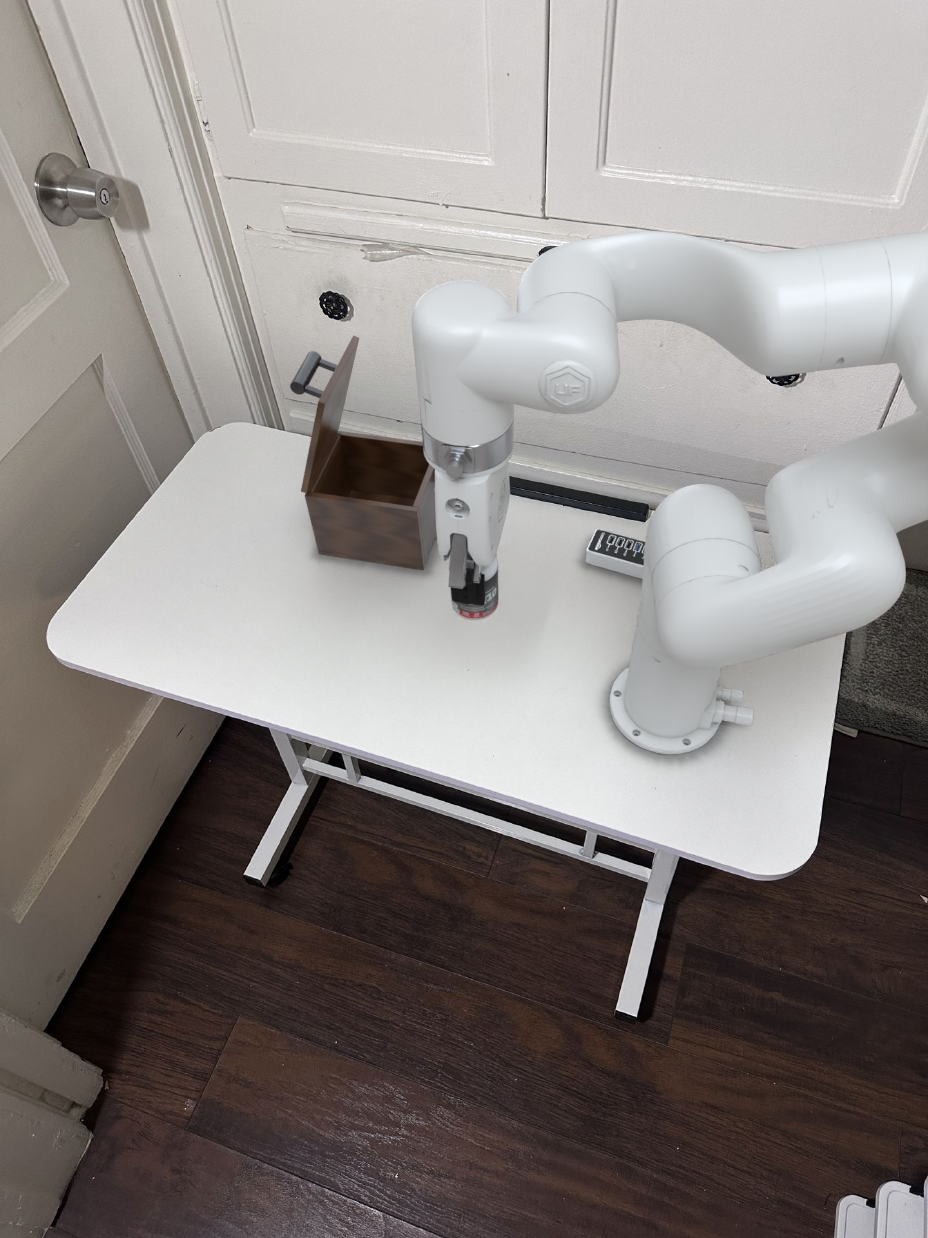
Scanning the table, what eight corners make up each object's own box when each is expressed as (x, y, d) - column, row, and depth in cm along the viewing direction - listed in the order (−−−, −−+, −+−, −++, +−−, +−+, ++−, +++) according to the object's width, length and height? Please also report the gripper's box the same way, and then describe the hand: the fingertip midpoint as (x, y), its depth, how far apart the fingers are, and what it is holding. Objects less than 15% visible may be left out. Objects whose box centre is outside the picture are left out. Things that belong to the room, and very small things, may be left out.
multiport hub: (693, 593, 116) (696, 581, 114) (584, 562, 120) (585, 550, 118) (702, 569, 118) (705, 557, 116) (595, 539, 122) (596, 527, 120)
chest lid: (359, 337, 109) (319, 321, 109) (324, 403, 102) (282, 387, 101) (339, 428, 121) (303, 414, 121) (306, 494, 114) (268, 479, 114)
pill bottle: (459, 627, 91) (455, 571, 84) (446, 592, 93) (441, 535, 87) (505, 614, 91) (504, 558, 85) (490, 580, 94) (488, 523, 88)
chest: (447, 504, 128) (443, 444, 119) (423, 570, 120) (417, 511, 112) (348, 489, 130) (336, 430, 122) (318, 554, 123) (304, 495, 114)
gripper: (493, 512, 70) (496, 654, 84) (530, 375, 80) (527, 522, 94) (397, 500, 71) (416, 642, 85) (445, 366, 81) (455, 513, 95)
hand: (474, 578), depth 89 cm, fingers closed on pill bottle, 4 cm apart
